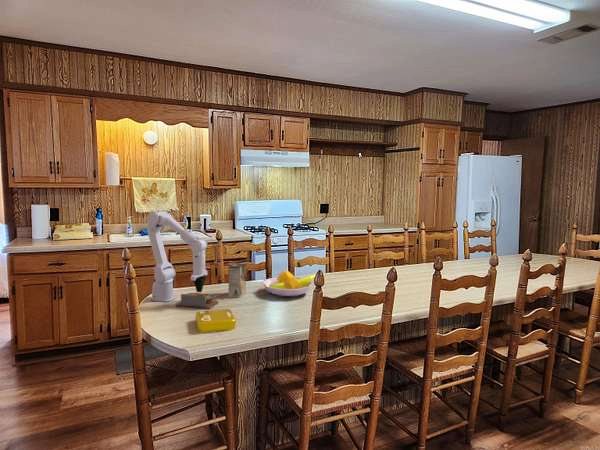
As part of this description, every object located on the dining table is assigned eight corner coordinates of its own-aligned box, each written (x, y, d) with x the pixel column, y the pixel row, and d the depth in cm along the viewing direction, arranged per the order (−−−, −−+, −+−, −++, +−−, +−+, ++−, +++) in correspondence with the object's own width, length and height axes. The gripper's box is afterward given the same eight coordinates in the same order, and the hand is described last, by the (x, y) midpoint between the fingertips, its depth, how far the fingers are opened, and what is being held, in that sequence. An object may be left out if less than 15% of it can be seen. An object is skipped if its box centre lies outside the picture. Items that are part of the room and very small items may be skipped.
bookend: (181, 307, 188) (181, 294, 187) (182, 306, 189) (182, 293, 188) (205, 309, 185) (205, 296, 185) (206, 308, 187) (206, 295, 186)
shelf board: (176, 306, 188) (176, 304, 188) (185, 300, 198) (185, 298, 198) (210, 309, 185) (210, 307, 185) (218, 302, 195) (218, 301, 195)
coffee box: (234, 292, 214) (234, 262, 212) (245, 293, 212) (246, 263, 211) (228, 297, 205) (228, 266, 203) (239, 298, 204) (240, 267, 202)
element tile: (236, 330, 162) (236, 319, 162) (198, 334, 157) (198, 322, 157) (230, 317, 176) (230, 307, 176) (195, 321, 171) (195, 310, 171)
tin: (217, 295, 196) (208, 298, 188) (216, 301, 196) (208, 305, 188) (189, 292, 200) (180, 295, 191) (189, 298, 200) (180, 301, 192)
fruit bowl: (255, 297, 205) (256, 276, 203) (273, 284, 231) (273, 265, 229) (308, 303, 197) (309, 281, 196) (320, 289, 223) (321, 269, 222)
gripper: (200, 268, 183) (200, 296, 185) (212, 261, 197) (213, 288, 199) (186, 267, 184) (186, 295, 186) (199, 260, 199) (199, 287, 200)
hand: (199, 291), depth 193 cm, fingers closed
